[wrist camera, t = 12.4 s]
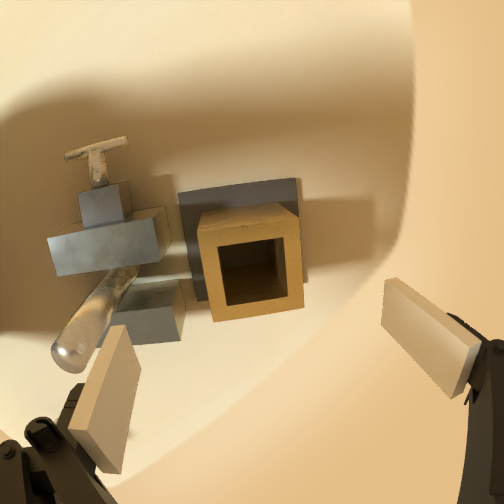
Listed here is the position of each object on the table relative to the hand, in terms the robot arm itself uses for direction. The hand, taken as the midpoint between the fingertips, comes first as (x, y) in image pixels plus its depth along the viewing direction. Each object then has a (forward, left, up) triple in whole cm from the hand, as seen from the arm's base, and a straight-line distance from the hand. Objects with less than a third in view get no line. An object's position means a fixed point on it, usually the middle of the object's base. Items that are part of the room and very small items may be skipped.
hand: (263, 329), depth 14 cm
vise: (-11, +2, -16) cm, 20 cm away
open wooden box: (0, 0, -16) cm, 16 cm away
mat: (+1, 0, -16) cm, 16 cm away
